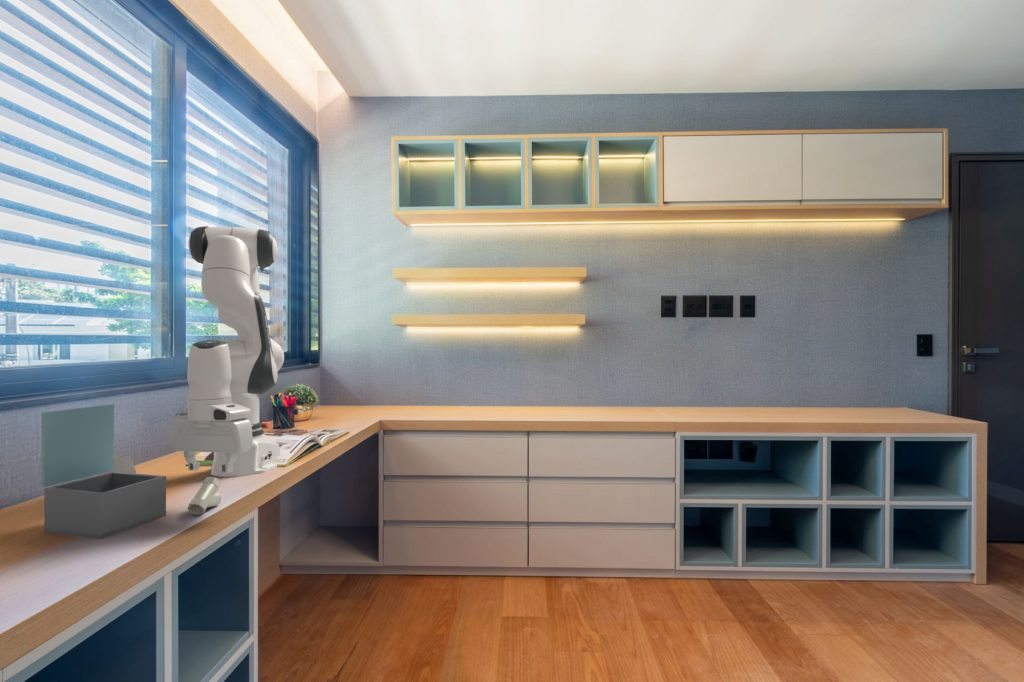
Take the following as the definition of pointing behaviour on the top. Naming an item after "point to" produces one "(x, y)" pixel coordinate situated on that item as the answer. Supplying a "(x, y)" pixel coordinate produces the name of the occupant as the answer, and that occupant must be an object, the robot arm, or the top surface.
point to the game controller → (120, 465)
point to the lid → (77, 443)
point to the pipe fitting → (206, 496)
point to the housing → (104, 504)
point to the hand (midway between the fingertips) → (210, 471)
